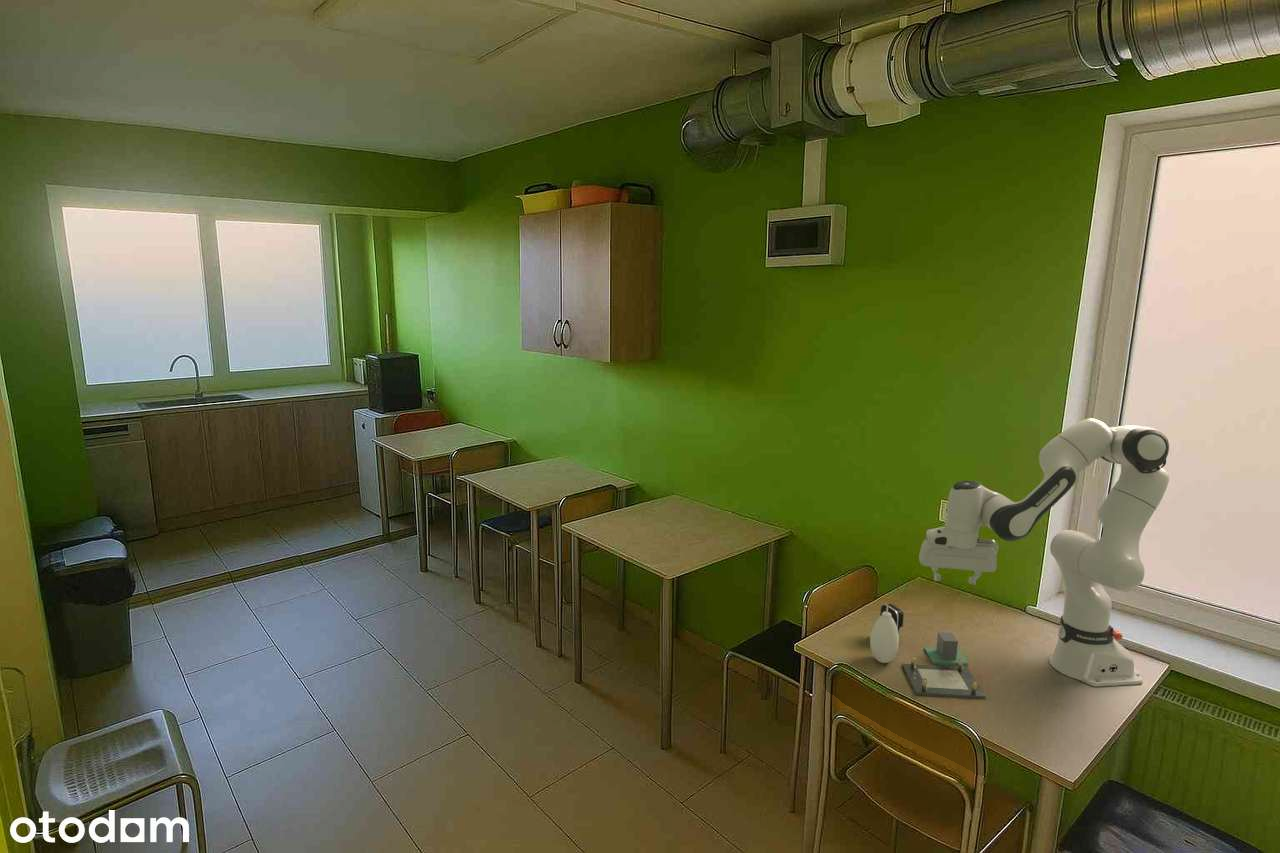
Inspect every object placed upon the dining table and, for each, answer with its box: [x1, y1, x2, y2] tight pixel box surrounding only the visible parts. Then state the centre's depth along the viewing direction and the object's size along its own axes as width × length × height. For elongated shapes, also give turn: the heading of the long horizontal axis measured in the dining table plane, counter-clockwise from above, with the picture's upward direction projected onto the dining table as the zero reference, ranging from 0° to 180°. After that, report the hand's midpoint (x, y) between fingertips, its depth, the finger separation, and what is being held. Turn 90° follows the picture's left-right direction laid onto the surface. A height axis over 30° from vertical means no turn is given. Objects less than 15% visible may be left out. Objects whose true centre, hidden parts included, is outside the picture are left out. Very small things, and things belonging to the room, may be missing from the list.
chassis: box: [901, 655, 987, 700], centre depth 193 cm, size 18×14×4 cm
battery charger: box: [879, 603, 904, 633], centre depth 214 cm, size 7×4×11 cm, turn 21°
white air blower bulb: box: [869, 605, 900, 664], centre depth 202 cm, size 8×8×18 cm
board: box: [923, 631, 969, 667], centre depth 205 cm, size 10×8×7 cm
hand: (954, 582), depth 200 cm, fingers open, 8 cm apart
